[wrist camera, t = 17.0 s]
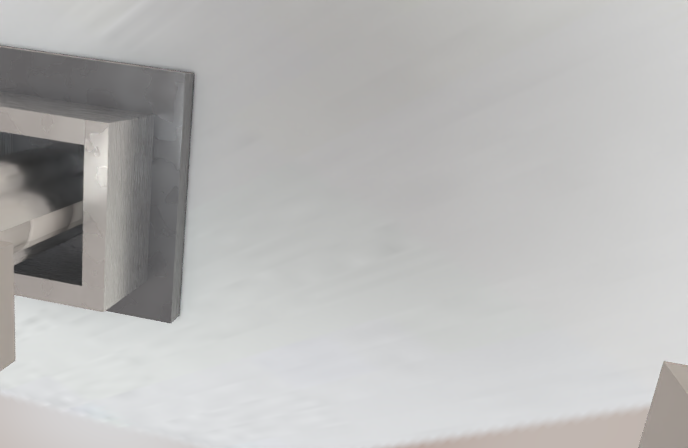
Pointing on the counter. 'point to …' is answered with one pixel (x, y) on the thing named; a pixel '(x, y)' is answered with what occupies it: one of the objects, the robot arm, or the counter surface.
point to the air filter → (41, 197)
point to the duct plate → (106, 177)
